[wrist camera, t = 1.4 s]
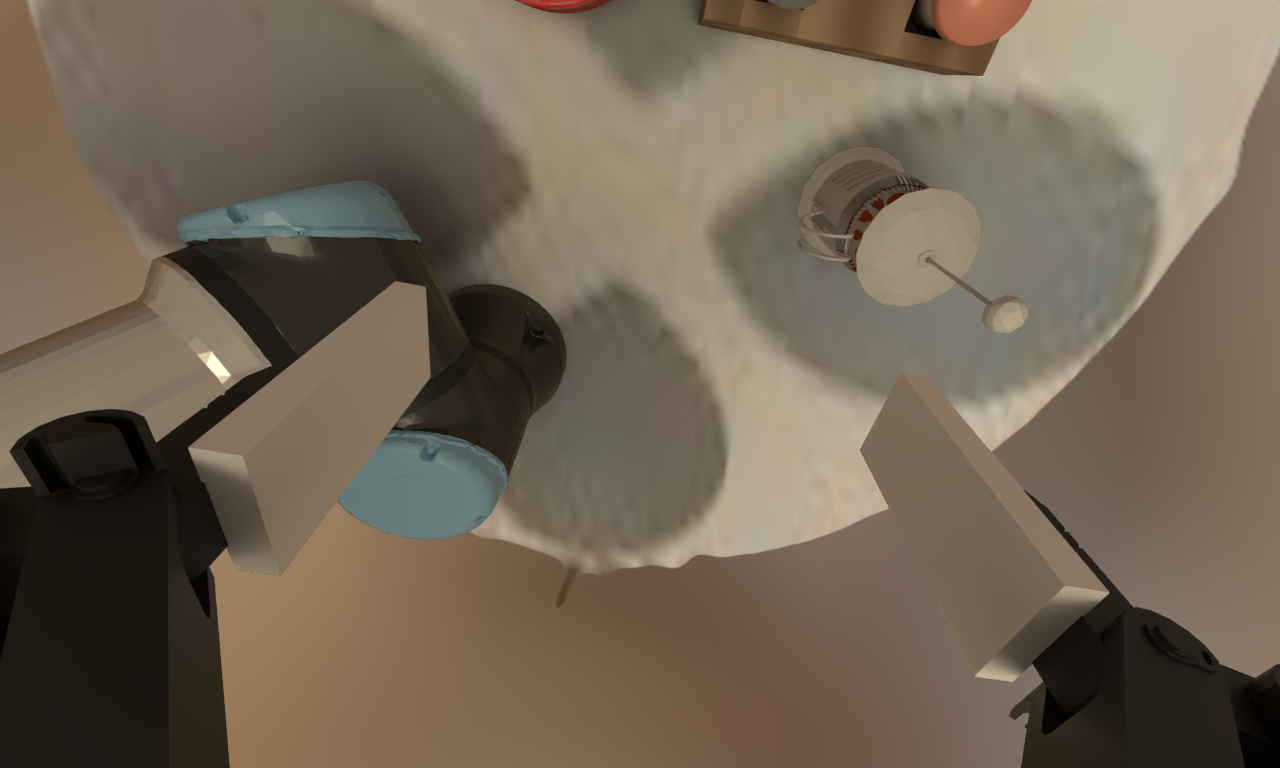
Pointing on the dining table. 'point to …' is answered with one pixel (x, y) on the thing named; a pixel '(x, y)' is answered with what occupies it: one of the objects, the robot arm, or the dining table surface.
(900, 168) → the french press
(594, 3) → the plant pot
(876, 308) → the dining table surface
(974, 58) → the socket block
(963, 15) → the red plug
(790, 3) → the charcoal plug
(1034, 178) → the dining table surface
